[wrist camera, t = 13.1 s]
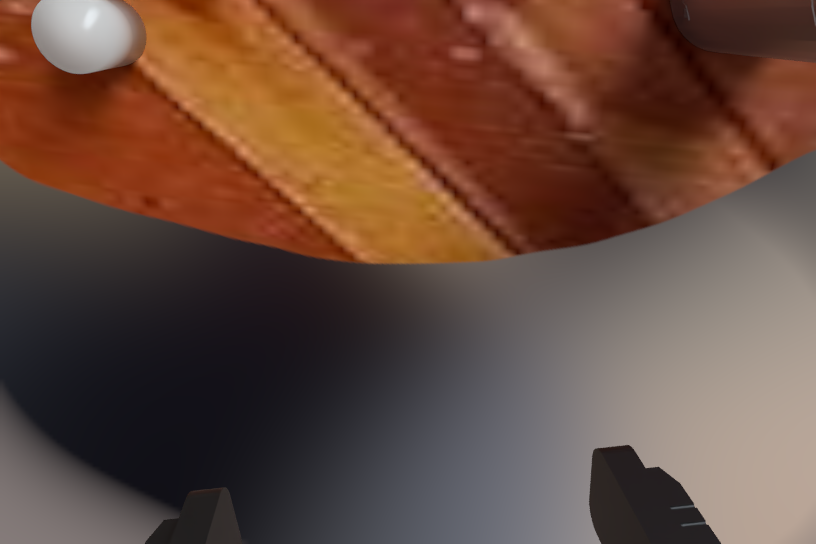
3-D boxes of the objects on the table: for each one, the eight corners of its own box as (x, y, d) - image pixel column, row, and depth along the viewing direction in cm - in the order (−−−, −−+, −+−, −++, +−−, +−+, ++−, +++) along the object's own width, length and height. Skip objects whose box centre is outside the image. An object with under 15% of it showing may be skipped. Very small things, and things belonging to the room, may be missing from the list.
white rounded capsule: (136, -7, 38) (99, -11, 33) (153, 63, 40) (120, 70, 35) (69, -2, 38) (20, -5, 33) (89, 68, 40) (45, 77, 35)
